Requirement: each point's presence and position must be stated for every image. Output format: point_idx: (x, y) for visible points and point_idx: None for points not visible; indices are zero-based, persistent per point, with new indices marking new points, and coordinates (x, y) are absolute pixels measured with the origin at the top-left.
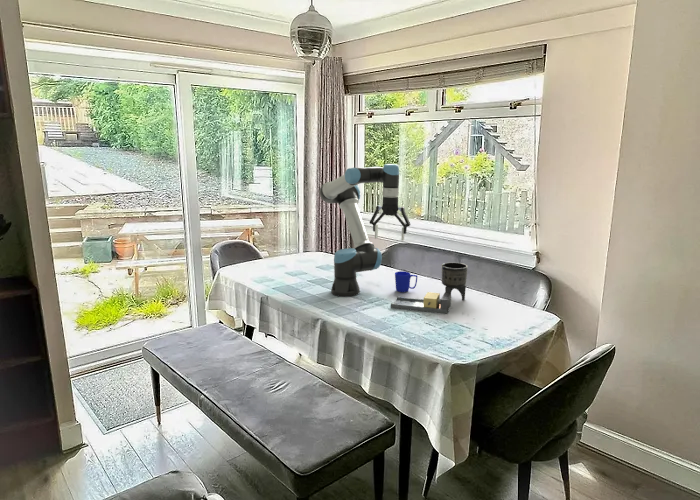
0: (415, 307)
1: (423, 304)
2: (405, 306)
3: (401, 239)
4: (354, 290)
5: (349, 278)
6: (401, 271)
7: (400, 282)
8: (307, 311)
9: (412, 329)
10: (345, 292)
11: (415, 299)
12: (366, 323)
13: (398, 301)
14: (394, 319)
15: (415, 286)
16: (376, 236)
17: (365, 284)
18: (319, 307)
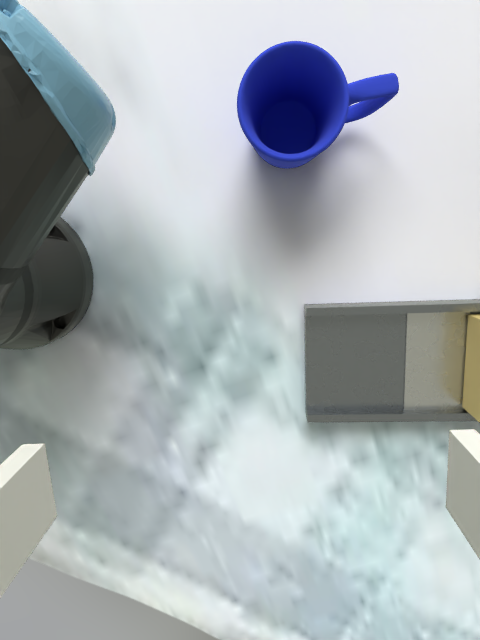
0: (426, 419)
1: (470, 413)
2: (378, 419)
3: (454, 519)
4: (74, 310)
5: (14, 334)
6: (271, 51)
7: (289, 165)
8: None
9: (446, 598)
10: (45, 344)
11: (406, 312)
12: (267, 593)
13: (323, 343)
14: (356, 528)
15: (370, 113)
16: (41, 520)
17: None
18: None
